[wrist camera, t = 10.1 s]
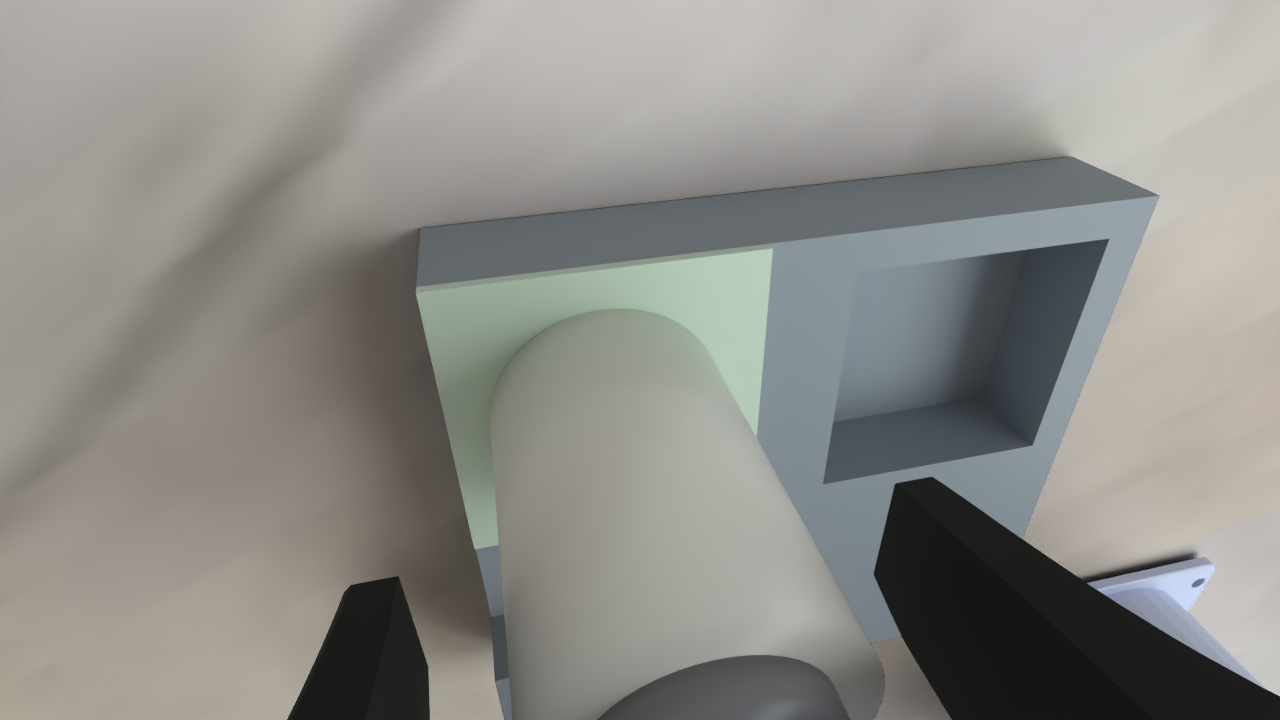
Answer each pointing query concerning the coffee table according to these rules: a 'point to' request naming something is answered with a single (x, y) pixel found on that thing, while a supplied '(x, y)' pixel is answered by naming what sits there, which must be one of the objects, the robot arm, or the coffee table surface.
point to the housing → (818, 333)
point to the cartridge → (657, 542)
